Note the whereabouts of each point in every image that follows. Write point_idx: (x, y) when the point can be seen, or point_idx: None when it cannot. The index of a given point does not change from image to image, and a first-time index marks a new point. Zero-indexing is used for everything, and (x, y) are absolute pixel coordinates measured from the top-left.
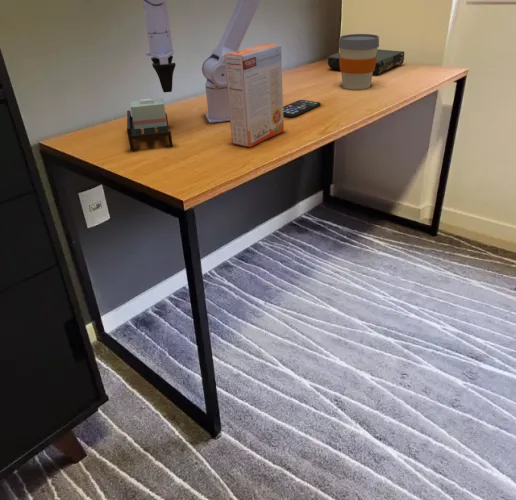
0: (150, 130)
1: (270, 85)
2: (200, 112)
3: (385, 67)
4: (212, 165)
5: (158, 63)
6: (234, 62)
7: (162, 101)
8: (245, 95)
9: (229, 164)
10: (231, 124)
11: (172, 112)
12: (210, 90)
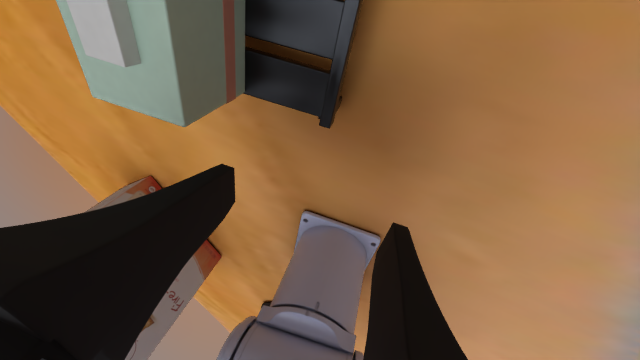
0: None
1: None
2: (426, 242)
3: None
4: (36, 88)
5: (10, 322)
6: None
7: (131, 106)
8: None
9: (48, 119)
10: (111, 201)
11: (517, 189)
12: (285, 298)
